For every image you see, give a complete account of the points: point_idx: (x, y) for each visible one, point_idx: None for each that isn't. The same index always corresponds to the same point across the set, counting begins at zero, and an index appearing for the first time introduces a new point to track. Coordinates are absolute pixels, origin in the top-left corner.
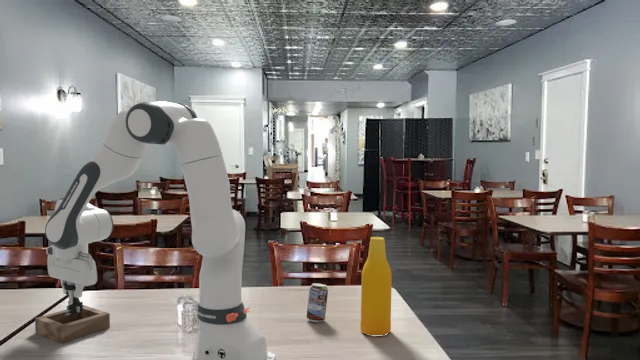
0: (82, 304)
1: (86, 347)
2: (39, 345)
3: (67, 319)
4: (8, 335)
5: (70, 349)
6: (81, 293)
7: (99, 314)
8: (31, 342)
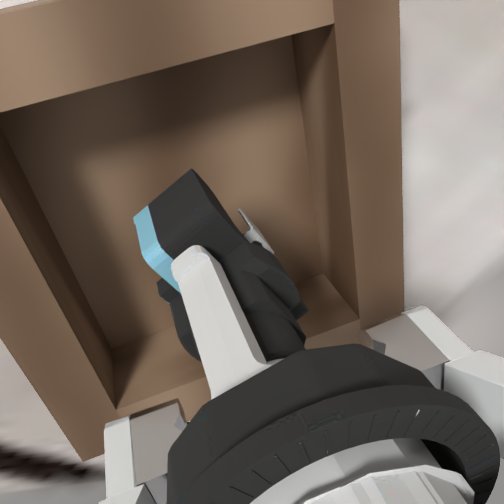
0: (205, 192)
1: (493, 193)
2: None
3: (41, 227)
4: (34, 479)
5: (451, 258)
6: (446, 332)
7: (351, 33)
8: None
